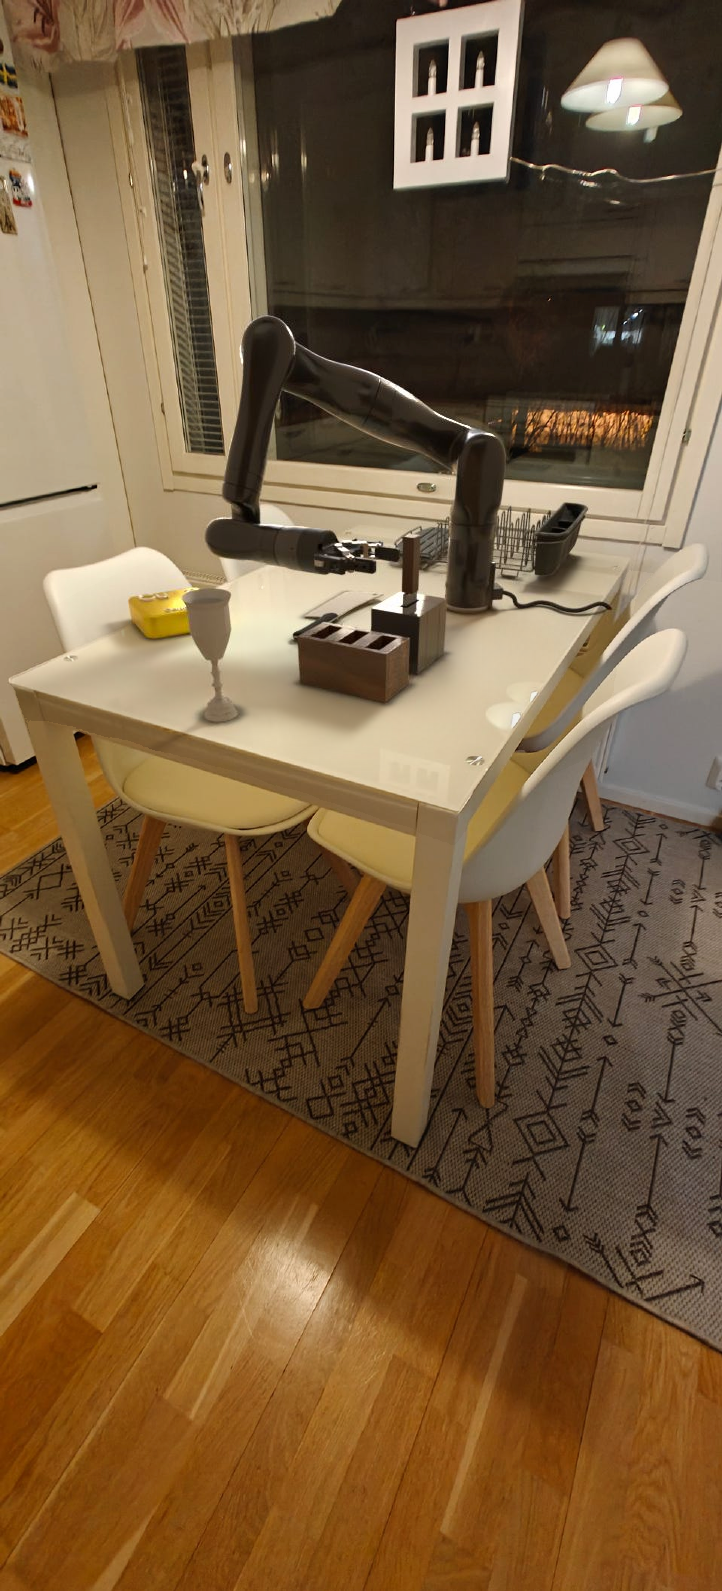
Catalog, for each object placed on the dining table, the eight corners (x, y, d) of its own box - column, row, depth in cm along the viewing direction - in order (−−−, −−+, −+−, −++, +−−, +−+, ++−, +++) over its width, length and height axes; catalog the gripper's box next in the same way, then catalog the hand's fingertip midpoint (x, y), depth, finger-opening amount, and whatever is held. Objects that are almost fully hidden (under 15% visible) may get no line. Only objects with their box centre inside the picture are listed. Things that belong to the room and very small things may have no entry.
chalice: (200, 704, 111) (184, 589, 102) (244, 702, 112) (232, 587, 102) (195, 726, 105) (178, 605, 96) (242, 723, 106) (229, 603, 96)
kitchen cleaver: (346, 587, 160) (386, 588, 155) (347, 595, 161) (386, 596, 156) (266, 630, 137) (310, 633, 132) (267, 639, 138) (311, 642, 133)
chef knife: (408, 654, 129) (411, 532, 118) (418, 656, 128) (422, 533, 117) (397, 661, 126) (400, 537, 115) (408, 663, 125) (411, 538, 114)
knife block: (399, 644, 133) (400, 590, 127) (444, 653, 129) (447, 598, 124) (370, 664, 125) (370, 608, 119) (417, 674, 121) (419, 616, 116)
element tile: (148, 640, 135) (144, 615, 133) (129, 618, 146) (125, 594, 144) (224, 627, 141) (221, 603, 139) (200, 606, 153) (197, 583, 150)
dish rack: (558, 586, 163) (566, 531, 157) (379, 566, 179) (379, 515, 172) (583, 552, 189) (591, 503, 183) (425, 536, 205) (427, 491, 198)
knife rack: (325, 666, 124) (323, 621, 120) (408, 684, 117) (409, 637, 113) (299, 683, 118) (297, 636, 114) (385, 703, 112) (386, 654, 107)
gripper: (281, 535, 119) (367, 546, 113) (327, 519, 130) (407, 529, 123) (284, 581, 123) (367, 594, 117) (328, 562, 134) (406, 573, 127)
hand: (387, 560), depth 120 cm, fingers open, 8 cm apart
